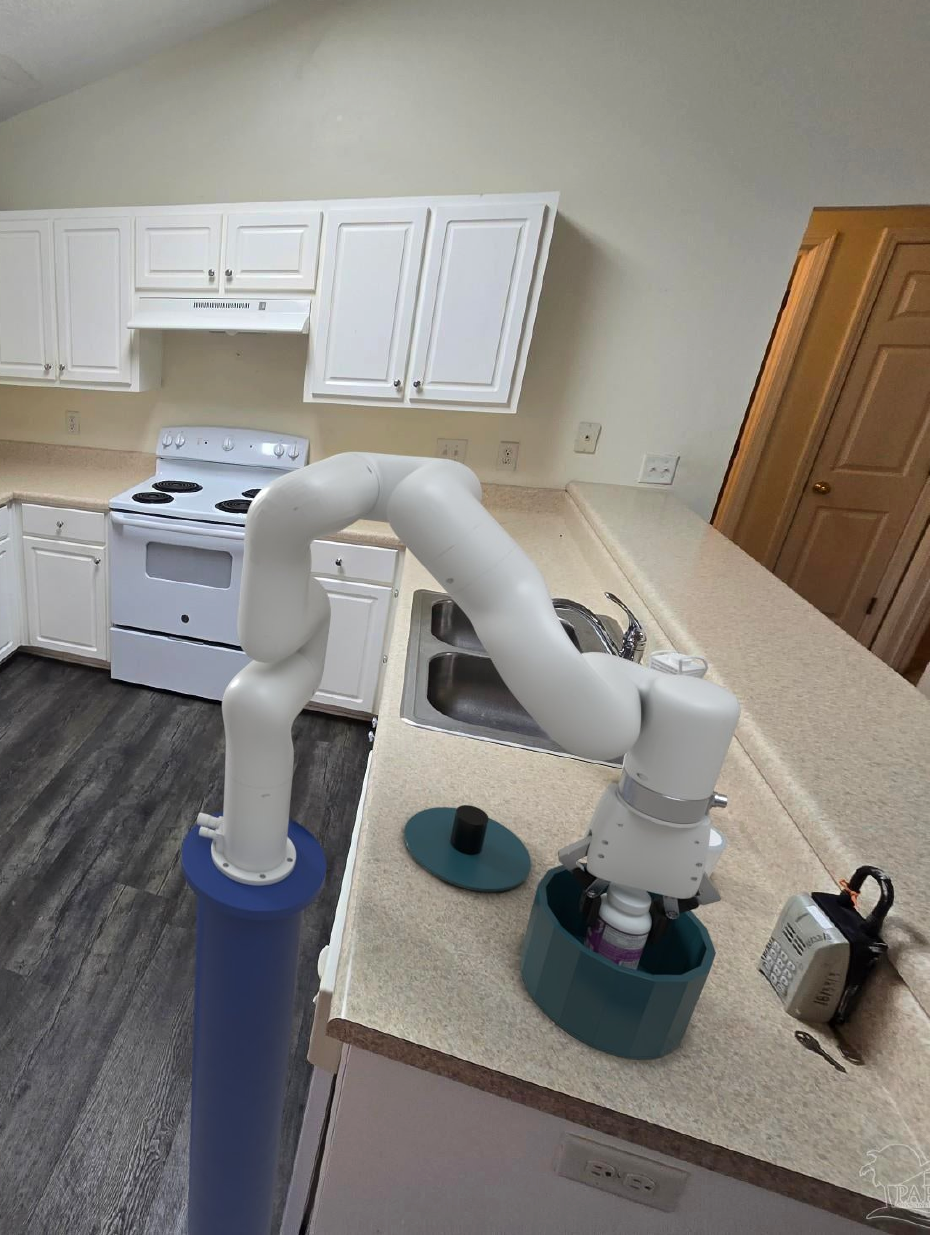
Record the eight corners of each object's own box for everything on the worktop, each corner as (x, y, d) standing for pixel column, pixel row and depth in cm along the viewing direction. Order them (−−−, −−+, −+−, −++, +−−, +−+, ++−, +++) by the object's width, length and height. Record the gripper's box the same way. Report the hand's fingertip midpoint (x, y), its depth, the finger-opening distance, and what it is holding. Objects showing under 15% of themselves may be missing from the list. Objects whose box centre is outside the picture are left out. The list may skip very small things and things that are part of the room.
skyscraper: (668, 824, 109) (722, 664, 98) (608, 806, 113) (654, 651, 102) (666, 795, 116) (716, 643, 105) (609, 780, 119) (652, 631, 109)
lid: (397, 872, 99) (403, 835, 96) (409, 801, 114) (414, 767, 111) (532, 910, 92) (543, 872, 90) (526, 830, 107) (535, 795, 105)
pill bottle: (583, 931, 83) (602, 867, 79) (635, 950, 80) (657, 885, 77) (581, 964, 79) (601, 898, 75) (636, 985, 76) (660, 918, 72)
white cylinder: (666, 884, 97) (680, 844, 94) (647, 851, 103) (659, 812, 101) (722, 893, 96) (738, 853, 93) (699, 859, 102) (713, 820, 99)
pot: (522, 1024, 77) (544, 948, 73) (517, 916, 91) (534, 847, 87) (701, 1084, 71) (735, 1005, 67) (665, 959, 85) (692, 887, 81)
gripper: (752, 792, 71) (701, 926, 78) (564, 754, 77) (532, 881, 84) (779, 838, 65) (721, 980, 71) (571, 793, 71) (536, 927, 78)
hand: (619, 925), depth 78 cm, fingers closed on pill bottle, 5 cm apart
